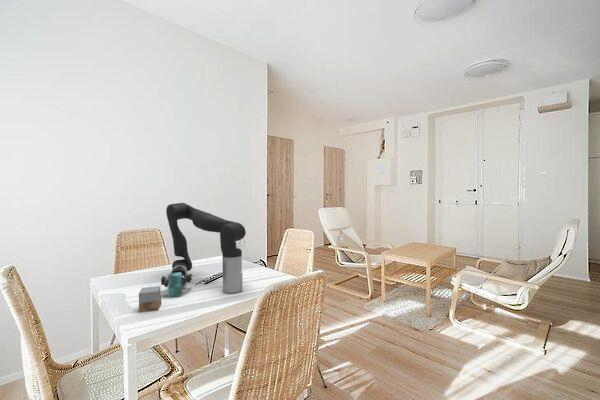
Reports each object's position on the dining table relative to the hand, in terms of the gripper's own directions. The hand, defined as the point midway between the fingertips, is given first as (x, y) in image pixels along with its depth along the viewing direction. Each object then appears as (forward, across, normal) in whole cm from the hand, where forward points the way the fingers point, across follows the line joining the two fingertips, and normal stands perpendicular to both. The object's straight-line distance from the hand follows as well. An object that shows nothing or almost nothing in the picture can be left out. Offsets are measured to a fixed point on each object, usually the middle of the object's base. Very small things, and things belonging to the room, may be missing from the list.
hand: (174, 284), depth 127 cm
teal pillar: (-2, 0, +6) cm, 6 cm away
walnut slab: (+10, -8, +6) cm, 14 cm away
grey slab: (+10, -8, +2) cm, 13 cm away
